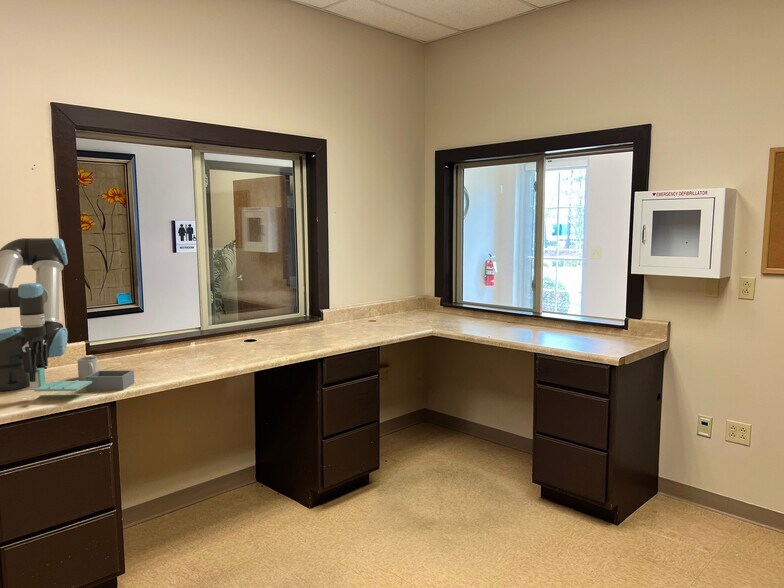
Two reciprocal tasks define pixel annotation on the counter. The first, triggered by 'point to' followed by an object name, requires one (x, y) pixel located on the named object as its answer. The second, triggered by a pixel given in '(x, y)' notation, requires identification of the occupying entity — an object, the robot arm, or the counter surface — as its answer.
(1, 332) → the robot arm
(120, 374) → the tub
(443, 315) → the counter surface
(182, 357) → the counter surface
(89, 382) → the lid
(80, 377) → the cup
